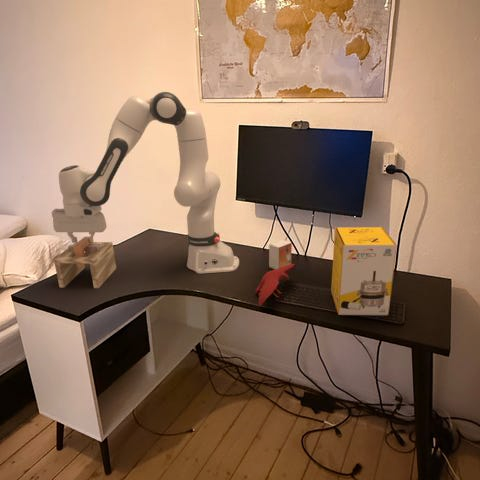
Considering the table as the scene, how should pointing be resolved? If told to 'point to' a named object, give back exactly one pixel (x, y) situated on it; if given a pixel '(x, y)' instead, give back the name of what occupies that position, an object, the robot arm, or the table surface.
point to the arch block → (82, 250)
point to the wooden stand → (98, 259)
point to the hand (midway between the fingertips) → (82, 242)
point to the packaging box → (362, 270)
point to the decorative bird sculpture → (271, 282)
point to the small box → (280, 254)
